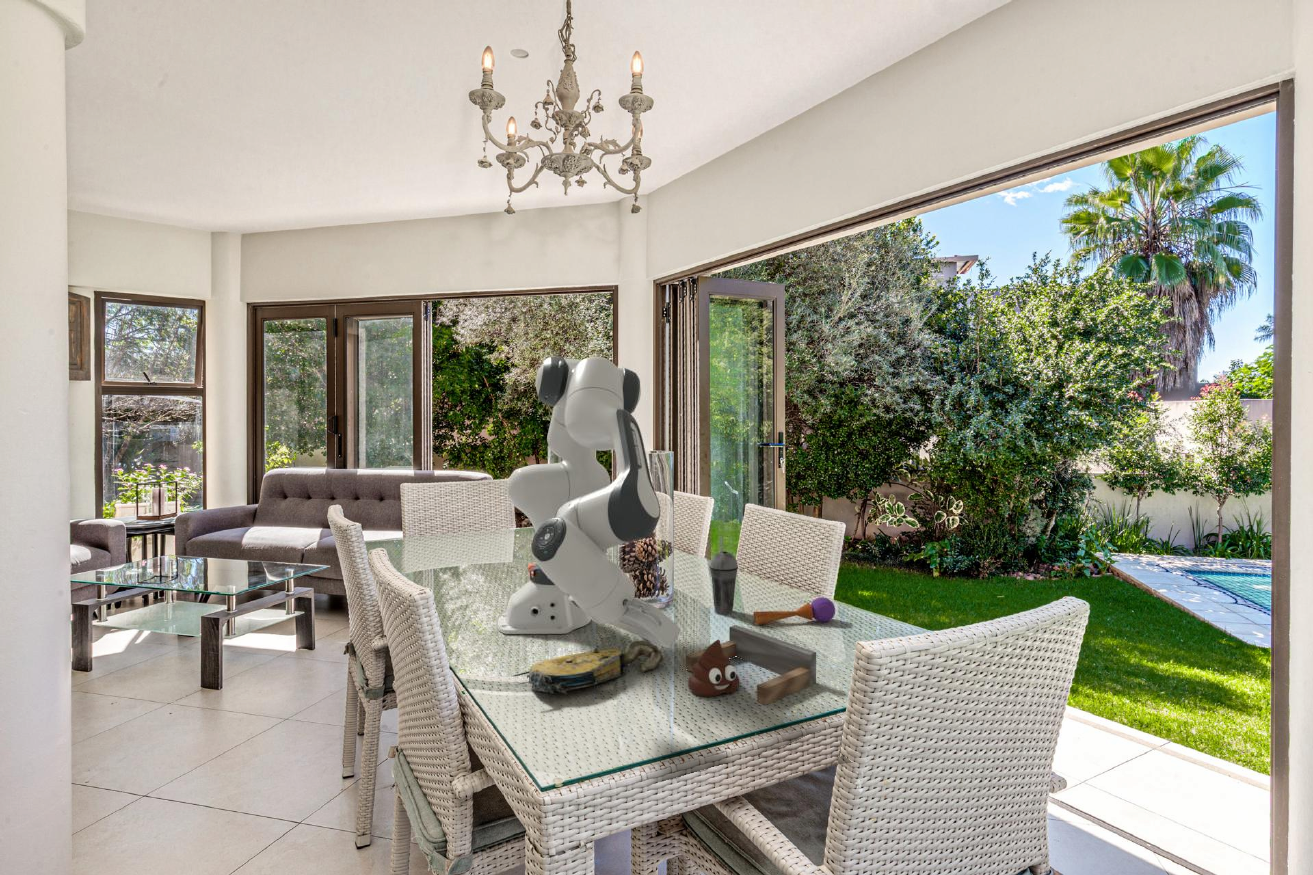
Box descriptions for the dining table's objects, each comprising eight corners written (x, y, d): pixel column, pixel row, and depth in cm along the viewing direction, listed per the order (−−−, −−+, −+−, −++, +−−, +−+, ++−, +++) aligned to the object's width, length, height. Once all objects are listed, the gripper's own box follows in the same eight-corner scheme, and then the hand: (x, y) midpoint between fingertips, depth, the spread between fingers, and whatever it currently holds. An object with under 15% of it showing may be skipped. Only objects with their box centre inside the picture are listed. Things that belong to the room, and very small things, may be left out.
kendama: (750, 604, 170) (828, 594, 173) (753, 629, 170) (831, 618, 172) (757, 607, 164) (837, 597, 167) (760, 633, 164) (840, 622, 166)
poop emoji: (726, 676, 136) (726, 629, 136) (749, 693, 129) (749, 644, 128) (680, 685, 132) (680, 637, 132) (701, 703, 125) (701, 652, 124)
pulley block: (678, 642, 137) (533, 673, 123) (680, 672, 137) (535, 706, 122) (645, 632, 149) (509, 659, 135) (647, 659, 149) (511, 689, 134)
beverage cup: (743, 612, 176) (744, 535, 174) (721, 618, 172) (721, 538, 170) (725, 605, 182) (725, 530, 180) (703, 610, 178) (703, 533, 176)
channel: (765, 705, 123) (765, 672, 123) (685, 669, 139) (685, 640, 139) (815, 682, 133) (816, 652, 132) (735, 652, 149) (735, 624, 148)
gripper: (659, 592, 106) (705, 640, 113) (584, 567, 122) (628, 611, 129) (636, 627, 103) (684, 674, 110) (562, 597, 119) (609, 640, 126)
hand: (653, 640), depth 120 cm, fingers closed
